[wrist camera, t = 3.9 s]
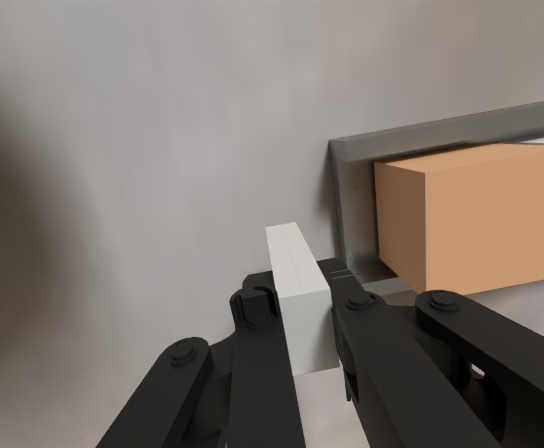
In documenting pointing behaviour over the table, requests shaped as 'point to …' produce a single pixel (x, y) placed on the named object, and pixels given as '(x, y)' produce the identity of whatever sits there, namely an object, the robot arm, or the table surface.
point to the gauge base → (396, 143)
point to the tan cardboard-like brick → (463, 217)
